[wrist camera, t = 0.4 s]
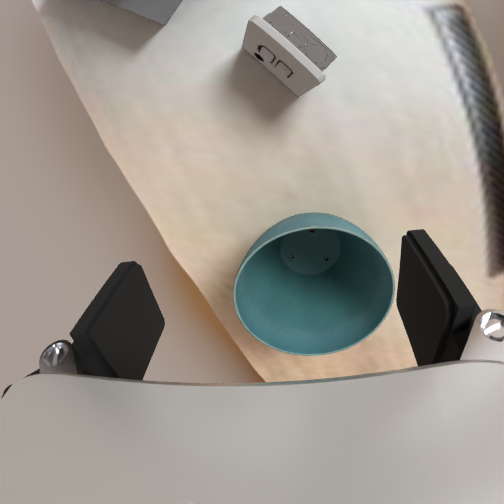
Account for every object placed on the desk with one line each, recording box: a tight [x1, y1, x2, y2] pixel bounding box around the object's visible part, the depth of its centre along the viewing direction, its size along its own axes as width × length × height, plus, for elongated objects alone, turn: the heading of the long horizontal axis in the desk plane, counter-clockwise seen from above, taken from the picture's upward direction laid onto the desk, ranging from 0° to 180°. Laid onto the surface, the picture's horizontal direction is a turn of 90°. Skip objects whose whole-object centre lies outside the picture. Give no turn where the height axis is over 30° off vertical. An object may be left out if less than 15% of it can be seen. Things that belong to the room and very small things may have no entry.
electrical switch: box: [242, 6, 337, 96], centre depth 28 cm, size 9×5×9 cm, turn 46°
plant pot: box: [233, 213, 395, 356], centre depth 39 cm, size 18×18×12 cm
